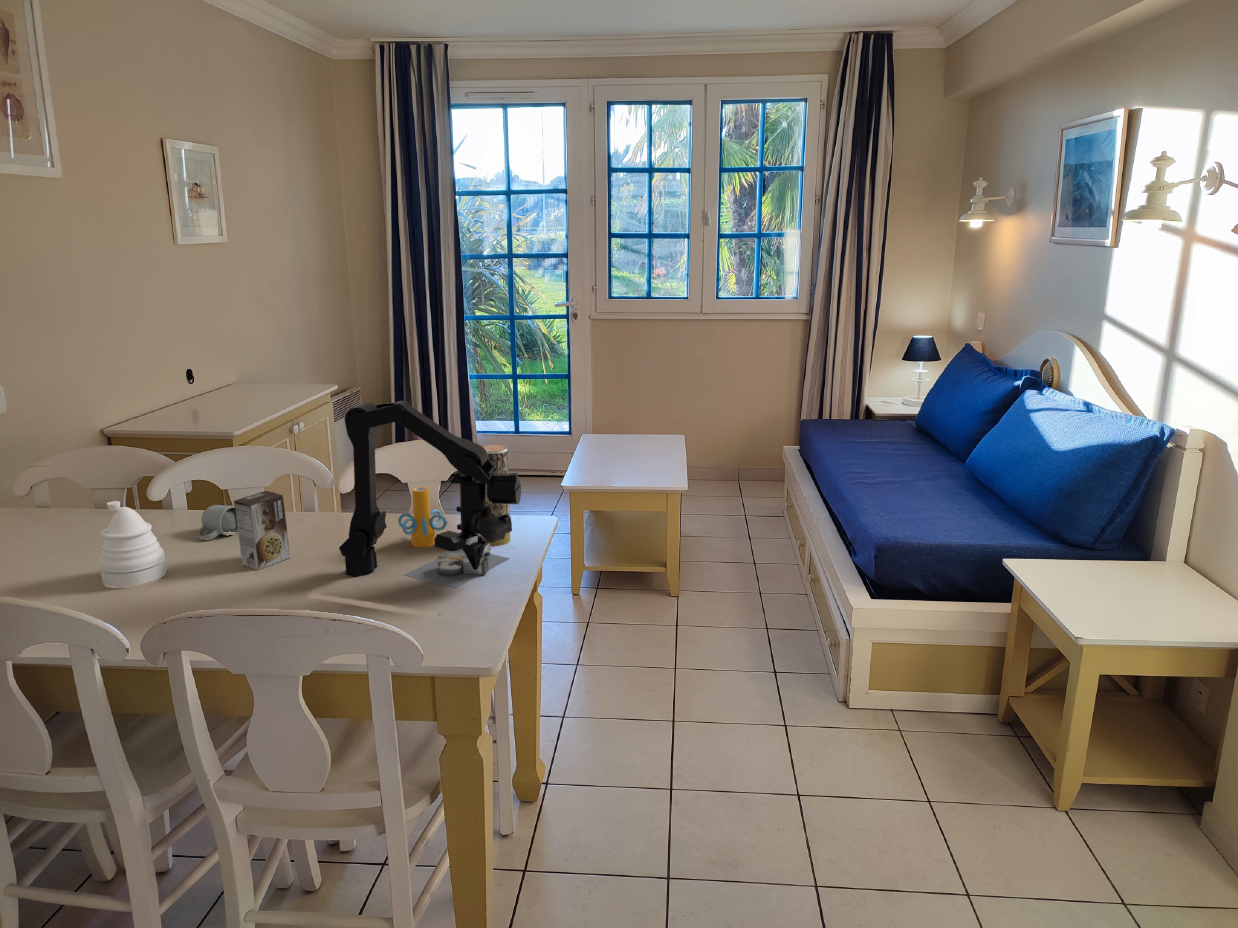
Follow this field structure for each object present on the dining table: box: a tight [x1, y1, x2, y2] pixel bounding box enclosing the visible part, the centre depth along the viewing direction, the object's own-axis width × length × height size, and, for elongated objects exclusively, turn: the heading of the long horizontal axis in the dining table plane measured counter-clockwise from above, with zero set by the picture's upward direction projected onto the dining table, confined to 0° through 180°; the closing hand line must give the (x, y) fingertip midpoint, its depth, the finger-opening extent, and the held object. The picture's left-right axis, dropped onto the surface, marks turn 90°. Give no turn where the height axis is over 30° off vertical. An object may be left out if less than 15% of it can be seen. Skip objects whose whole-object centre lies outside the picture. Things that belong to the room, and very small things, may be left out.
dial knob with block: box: [435, 552, 490, 576], centre depth 192 cm, size 12×6×3 cm, turn 83°
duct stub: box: [481, 544, 492, 558], centre depth 202 cm, size 4×3×3 cm
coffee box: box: [233, 490, 291, 570], centre depth 199 cm, size 9×6×16 cm
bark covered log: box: [481, 444, 511, 547], centre depth 209 cm, size 7×7×25 cm
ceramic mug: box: [196, 504, 238, 540], centre depth 218 cm, size 11×8×8 cm
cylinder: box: [397, 486, 448, 548], centre depth 209 cm, size 12×10×15 cm
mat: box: [404, 549, 511, 589], centre depth 196 cm, size 20×15×1 cm
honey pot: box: [98, 500, 168, 587], centre depth 190 cm, size 13×13×18 cm
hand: (475, 569), depth 190 cm, fingers closed
